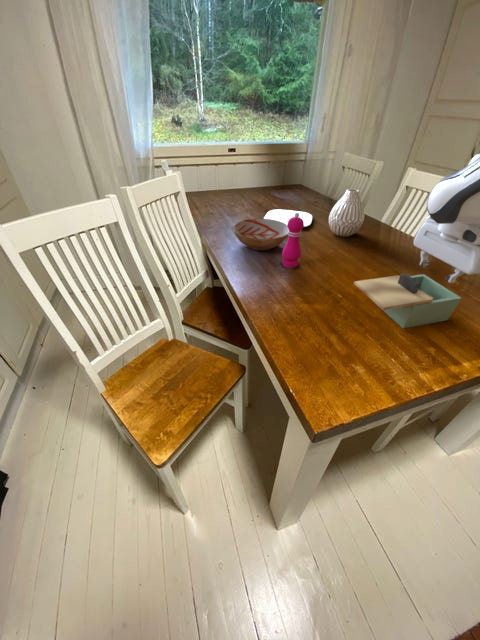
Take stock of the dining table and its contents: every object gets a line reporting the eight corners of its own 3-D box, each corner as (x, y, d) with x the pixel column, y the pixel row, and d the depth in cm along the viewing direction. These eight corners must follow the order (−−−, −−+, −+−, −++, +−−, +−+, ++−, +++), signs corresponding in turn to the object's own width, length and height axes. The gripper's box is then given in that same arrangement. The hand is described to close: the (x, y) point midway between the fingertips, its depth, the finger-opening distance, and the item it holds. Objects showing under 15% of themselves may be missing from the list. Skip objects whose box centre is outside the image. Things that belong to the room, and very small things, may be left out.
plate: (313, 215, 156) (313, 212, 155) (309, 231, 137) (310, 227, 136) (269, 211, 161) (269, 208, 160) (260, 225, 142) (260, 222, 141)
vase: (323, 227, 141) (331, 185, 129) (353, 228, 141) (365, 186, 128) (329, 239, 129) (339, 194, 116) (363, 240, 128) (377, 195, 116)
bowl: (243, 231, 135) (243, 215, 130) (293, 239, 129) (295, 222, 124) (224, 252, 117) (223, 234, 112) (281, 261, 110) (283, 243, 105)
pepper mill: (277, 263, 109) (282, 212, 97) (289, 258, 113) (295, 208, 100) (291, 270, 105) (298, 217, 92) (302, 264, 109) (311, 213, 96)
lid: (431, 301, 74) (438, 290, 72) (383, 310, 71) (388, 298, 69) (397, 277, 85) (402, 266, 82) (353, 283, 82) (357, 272, 79)
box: (447, 320, 82) (461, 298, 77) (403, 328, 78) (414, 306, 73) (413, 294, 92) (423, 274, 87) (372, 301, 89) (381, 280, 84)
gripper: (419, 213, 76) (400, 259, 85) (487, 241, 61) (456, 293, 69) (437, 211, 78) (417, 256, 86) (509, 238, 62) (476, 290, 71)
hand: (435, 273), depth 78 cm, fingers open, 8 cm apart
